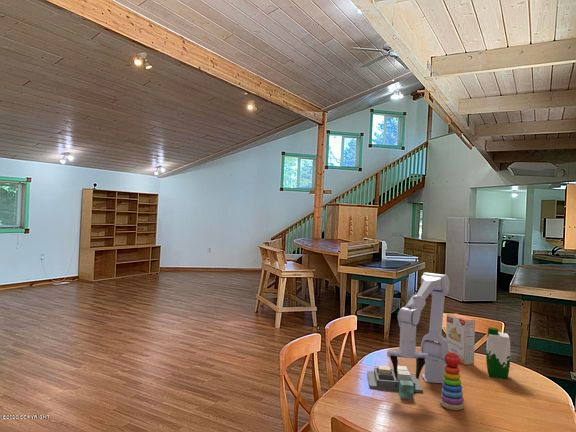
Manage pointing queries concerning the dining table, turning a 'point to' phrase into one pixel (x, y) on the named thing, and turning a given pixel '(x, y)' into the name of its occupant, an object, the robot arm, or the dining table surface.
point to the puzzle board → (391, 378)
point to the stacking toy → (452, 384)
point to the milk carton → (498, 354)
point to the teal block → (406, 389)
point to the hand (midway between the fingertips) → (406, 377)
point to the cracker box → (461, 337)
